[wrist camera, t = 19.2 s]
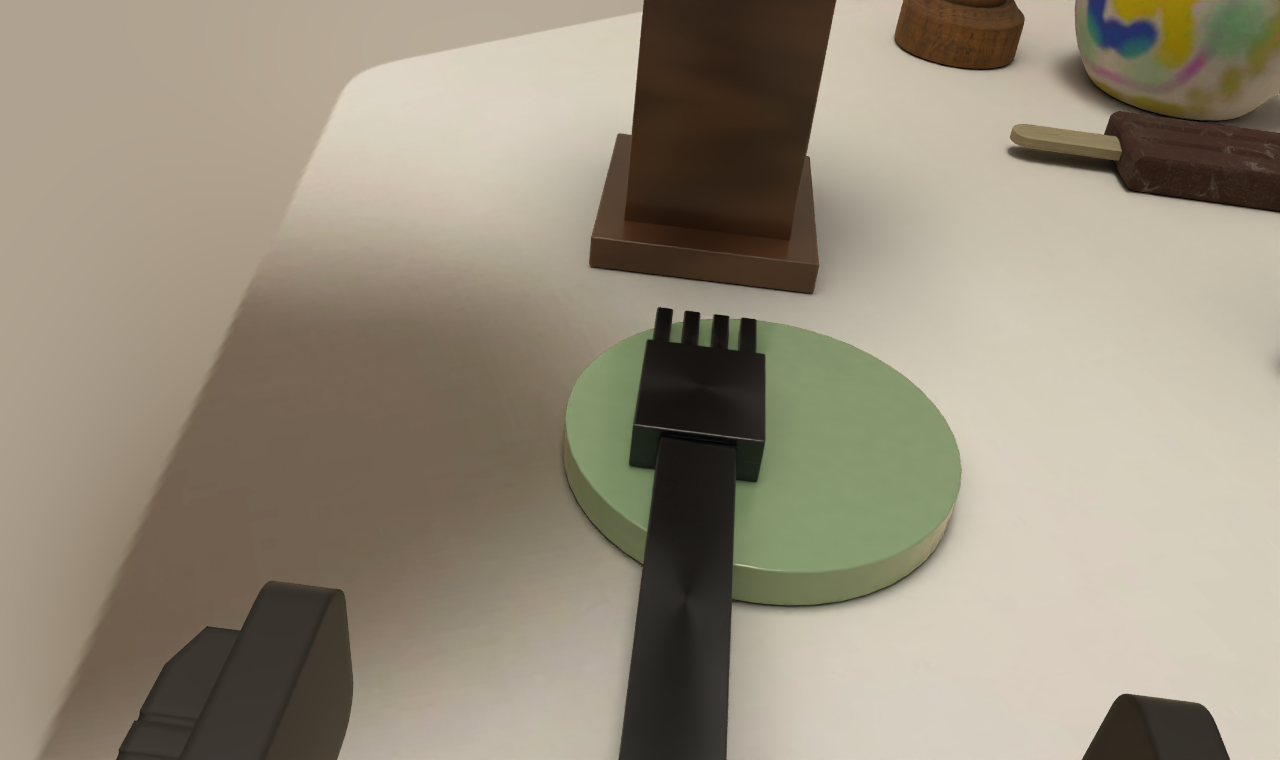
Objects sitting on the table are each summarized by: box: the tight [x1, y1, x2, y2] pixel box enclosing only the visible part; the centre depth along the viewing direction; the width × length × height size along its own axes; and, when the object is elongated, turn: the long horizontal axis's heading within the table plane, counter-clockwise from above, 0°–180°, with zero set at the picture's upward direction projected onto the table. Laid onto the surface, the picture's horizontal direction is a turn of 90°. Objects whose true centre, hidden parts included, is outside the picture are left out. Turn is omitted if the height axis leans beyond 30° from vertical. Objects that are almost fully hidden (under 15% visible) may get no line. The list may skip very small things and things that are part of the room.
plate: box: [563, 319, 962, 605], centre depth 31 cm, size 11×11×1 cm
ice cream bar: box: [1010, 111, 1280, 211], centre depth 50 cm, size 5×2×15 cm
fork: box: [619, 307, 766, 760], centre depth 27 cm, size 3×18×1 cm, turn 175°
